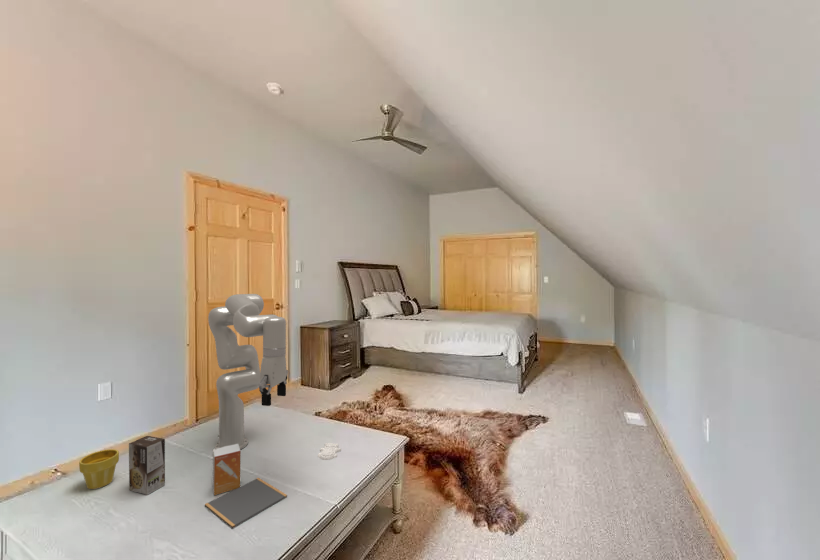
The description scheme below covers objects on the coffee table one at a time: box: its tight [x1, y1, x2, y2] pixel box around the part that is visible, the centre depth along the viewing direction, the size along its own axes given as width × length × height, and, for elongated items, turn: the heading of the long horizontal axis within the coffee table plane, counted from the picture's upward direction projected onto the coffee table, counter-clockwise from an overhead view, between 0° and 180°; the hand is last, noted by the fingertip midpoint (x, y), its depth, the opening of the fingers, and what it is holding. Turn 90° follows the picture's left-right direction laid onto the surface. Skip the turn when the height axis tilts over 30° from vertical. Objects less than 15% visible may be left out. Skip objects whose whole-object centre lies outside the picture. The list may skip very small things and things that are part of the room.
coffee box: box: [128, 435, 166, 496], centre depth 120 cm, size 9×6×16 cm
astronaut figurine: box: [317, 442, 342, 461], centre depth 144 cm, size 9×12×3 cm
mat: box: [204, 477, 288, 530], centre depth 112 cm, size 17×18×1 cm
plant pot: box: [78, 448, 120, 490], centre depth 122 cm, size 10×10×10 cm
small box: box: [212, 444, 242, 496], centre depth 120 cm, size 8×6×13 cm
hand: (274, 400), depth 123 cm, fingers open, 9 cm apart
